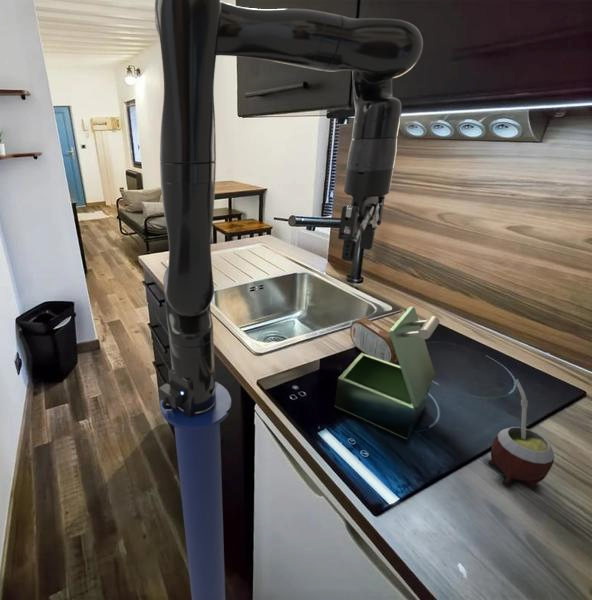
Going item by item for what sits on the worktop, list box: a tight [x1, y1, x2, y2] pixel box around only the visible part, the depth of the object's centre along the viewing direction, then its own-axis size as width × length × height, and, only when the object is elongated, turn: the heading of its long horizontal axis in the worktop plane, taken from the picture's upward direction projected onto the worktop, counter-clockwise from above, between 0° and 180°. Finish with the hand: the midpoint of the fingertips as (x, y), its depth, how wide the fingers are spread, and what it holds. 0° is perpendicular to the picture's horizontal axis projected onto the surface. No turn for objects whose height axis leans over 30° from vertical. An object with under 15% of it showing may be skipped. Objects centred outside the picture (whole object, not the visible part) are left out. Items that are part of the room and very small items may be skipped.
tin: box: [349, 317, 399, 365], centre depth 89 cm, size 15×3×8 cm, turn 17°
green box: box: [333, 352, 432, 443], centre depth 73 cm, size 14×12×8 cm
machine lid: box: [388, 305, 440, 407], centre depth 64 cm, size 14×12×5 cm
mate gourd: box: [487, 378, 555, 490], centre depth 56 cm, size 8×8×15 cm
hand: (357, 254), depth 71 cm, fingers open, 8 cm apart
